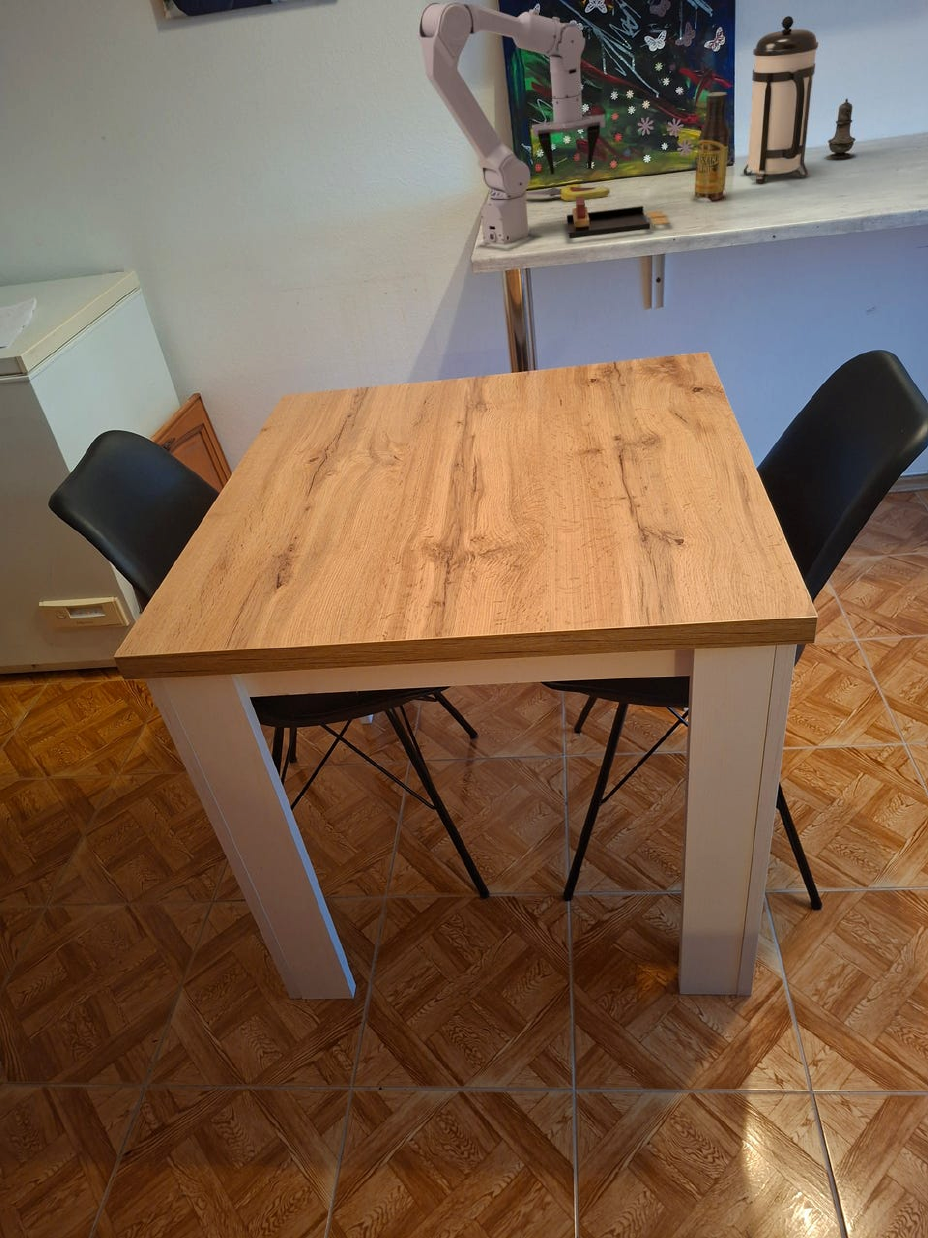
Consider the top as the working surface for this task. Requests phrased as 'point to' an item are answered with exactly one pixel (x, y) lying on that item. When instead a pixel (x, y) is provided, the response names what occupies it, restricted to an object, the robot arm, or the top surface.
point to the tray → (611, 222)
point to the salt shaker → (842, 134)
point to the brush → (580, 215)
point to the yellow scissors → (572, 192)
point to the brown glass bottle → (712, 149)
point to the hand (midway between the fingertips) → (570, 170)
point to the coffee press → (781, 101)
